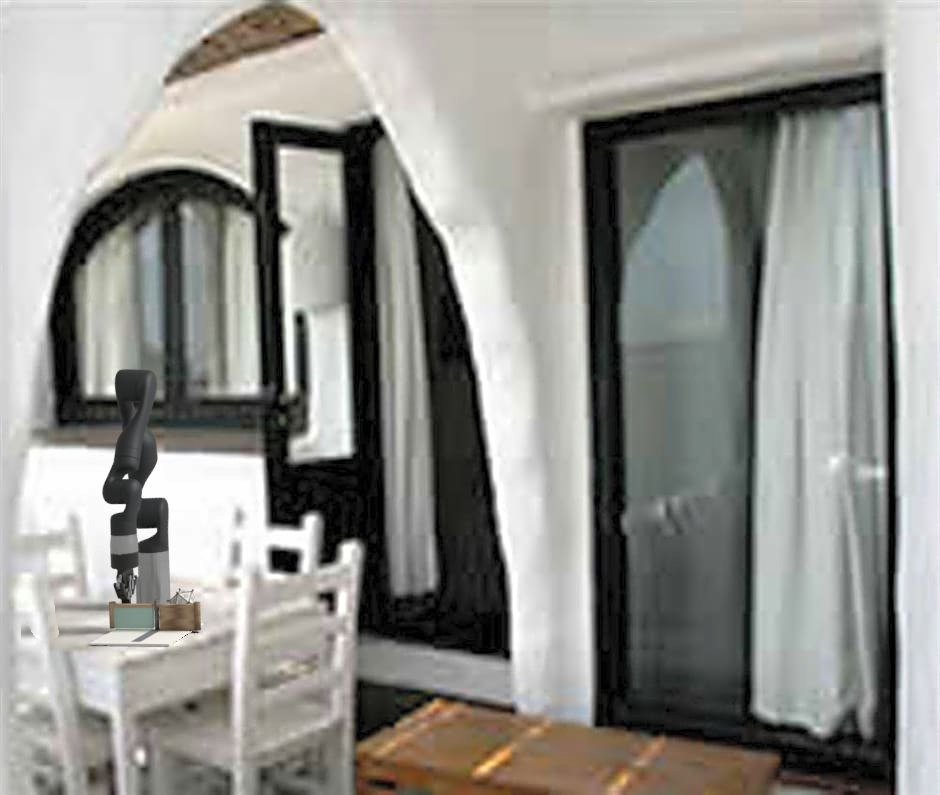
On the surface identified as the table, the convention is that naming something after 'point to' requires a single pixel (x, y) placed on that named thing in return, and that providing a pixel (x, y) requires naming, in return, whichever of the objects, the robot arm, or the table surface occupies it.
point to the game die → (183, 597)
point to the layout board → (141, 637)
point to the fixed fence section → (177, 616)
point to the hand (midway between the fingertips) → (126, 612)
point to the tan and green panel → (131, 616)
